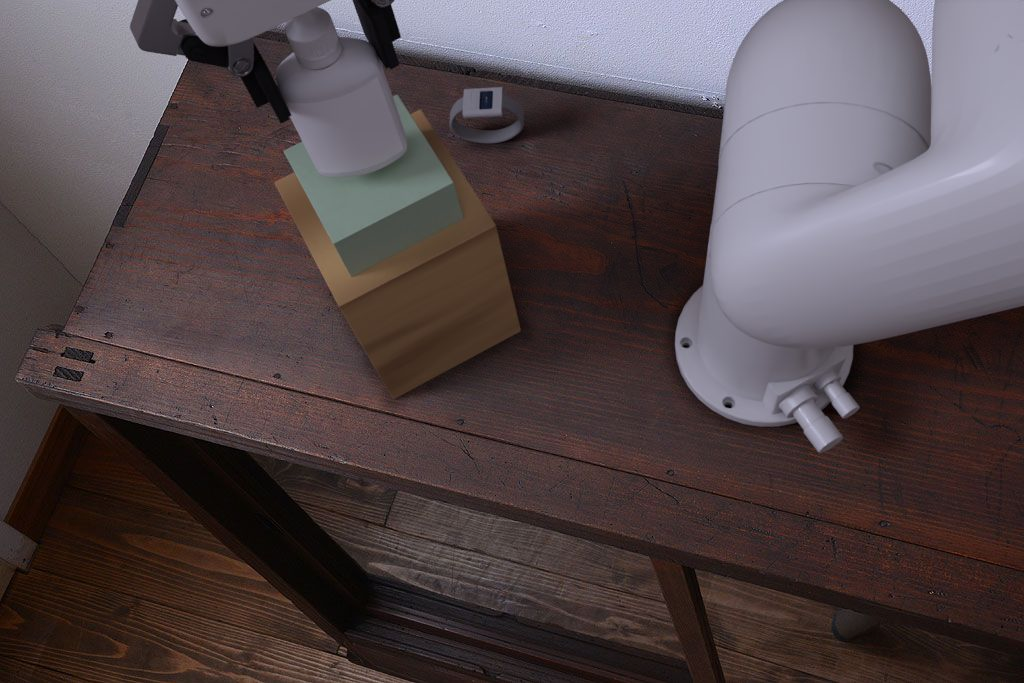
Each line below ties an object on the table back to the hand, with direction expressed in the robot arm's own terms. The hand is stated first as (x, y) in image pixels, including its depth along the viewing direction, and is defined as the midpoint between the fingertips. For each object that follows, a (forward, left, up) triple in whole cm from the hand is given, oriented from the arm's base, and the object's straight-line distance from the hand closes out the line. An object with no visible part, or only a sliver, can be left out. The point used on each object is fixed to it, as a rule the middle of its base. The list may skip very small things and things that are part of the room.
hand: (329, 75), depth 52 cm
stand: (0, 0, -27) cm, 27 cm away
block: (0, 0, -12) cm, 12 cm away
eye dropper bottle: (0, 0, -7) cm, 7 cm away
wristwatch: (+12, -12, -27) cm, 32 cm away
